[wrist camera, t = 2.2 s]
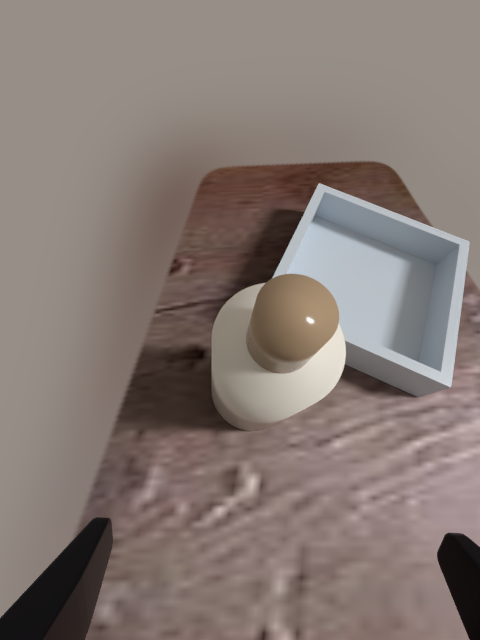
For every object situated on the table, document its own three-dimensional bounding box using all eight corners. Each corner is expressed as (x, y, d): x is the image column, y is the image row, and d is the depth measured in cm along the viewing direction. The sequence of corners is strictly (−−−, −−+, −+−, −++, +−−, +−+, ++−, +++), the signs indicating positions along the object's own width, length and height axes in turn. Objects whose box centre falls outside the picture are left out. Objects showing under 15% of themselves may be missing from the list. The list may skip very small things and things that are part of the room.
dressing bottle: (273, 446, 21) (357, 430, 9) (196, 408, 21) (179, 345, 9) (301, 370, 23) (396, 279, 11) (232, 338, 24) (253, 220, 12)
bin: (418, 397, 23) (451, 387, 20) (253, 323, 24) (260, 302, 21) (441, 265, 29) (469, 241, 26) (307, 211, 30) (319, 183, 27)
